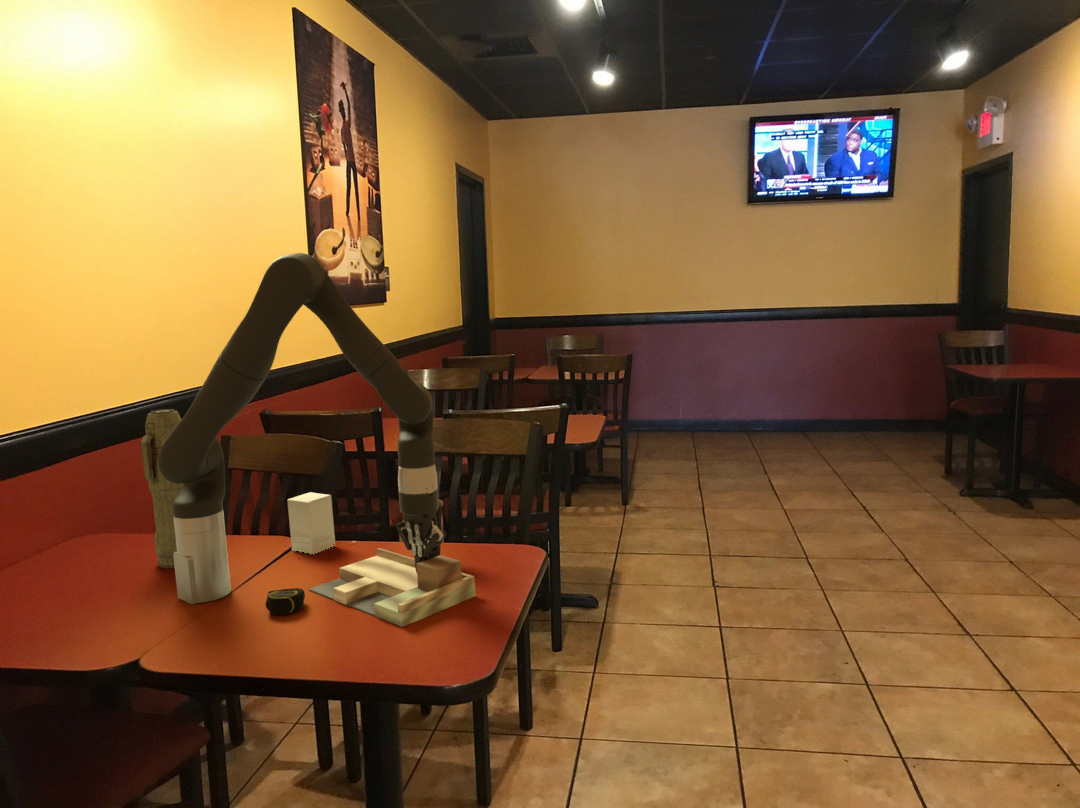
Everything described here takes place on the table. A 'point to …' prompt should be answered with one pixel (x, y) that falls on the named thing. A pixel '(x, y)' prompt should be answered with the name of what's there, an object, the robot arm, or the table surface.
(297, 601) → the tape measure
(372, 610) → the board
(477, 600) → the table surface
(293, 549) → the supplement box
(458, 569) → the walnut block
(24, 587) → the table surface
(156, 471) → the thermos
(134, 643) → the table surface
